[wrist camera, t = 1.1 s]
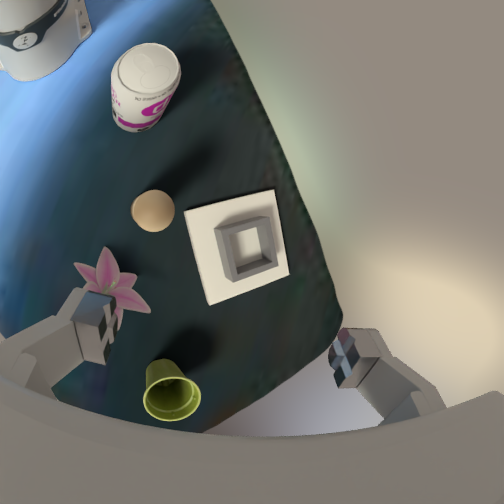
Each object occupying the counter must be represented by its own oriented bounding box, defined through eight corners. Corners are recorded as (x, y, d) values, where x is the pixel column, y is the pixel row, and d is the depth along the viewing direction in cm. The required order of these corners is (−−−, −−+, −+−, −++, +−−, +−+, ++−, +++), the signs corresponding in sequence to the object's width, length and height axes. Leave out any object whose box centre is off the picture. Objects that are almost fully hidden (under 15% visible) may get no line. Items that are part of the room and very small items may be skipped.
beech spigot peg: (127, 199, 39) (129, 196, 27) (154, 191, 41) (169, 185, 28) (134, 227, 40) (139, 236, 28) (161, 219, 42) (178, 225, 29)
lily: (150, 310, 44) (170, 301, 37) (94, 346, 36) (100, 347, 29) (114, 248, 43) (127, 226, 36) (56, 279, 36) (54, 262, 28)
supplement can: (172, 111, 39) (198, 73, 26) (132, 143, 38) (138, 113, 24) (143, 78, 36) (157, 28, 23) (102, 108, 34) (97, 65, 21)
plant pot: (196, 362, 48) (211, 388, 41) (171, 398, 47) (183, 427, 39) (152, 341, 44) (161, 367, 36) (128, 380, 43) (133, 410, 35)
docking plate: (183, 211, 43) (190, 212, 39) (270, 189, 49) (284, 189, 45) (207, 303, 47) (216, 312, 43) (285, 273, 54) (300, 279, 49)
